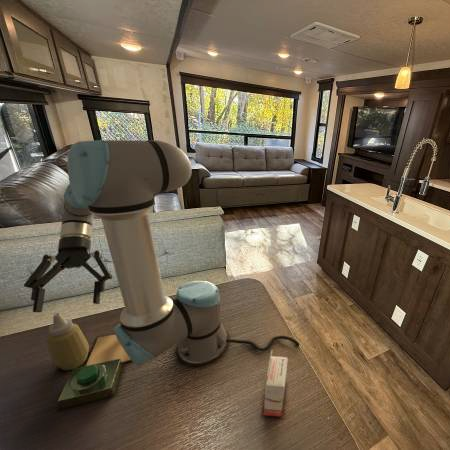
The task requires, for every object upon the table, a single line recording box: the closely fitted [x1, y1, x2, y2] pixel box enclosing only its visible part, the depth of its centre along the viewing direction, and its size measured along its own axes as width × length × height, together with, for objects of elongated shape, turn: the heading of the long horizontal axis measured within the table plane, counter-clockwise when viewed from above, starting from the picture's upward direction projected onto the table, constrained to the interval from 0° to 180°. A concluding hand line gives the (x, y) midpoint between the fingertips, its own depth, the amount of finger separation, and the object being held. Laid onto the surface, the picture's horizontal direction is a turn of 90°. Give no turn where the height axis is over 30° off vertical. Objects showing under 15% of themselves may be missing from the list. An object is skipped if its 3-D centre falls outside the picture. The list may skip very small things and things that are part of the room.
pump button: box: [77, 365, 98, 385], centre depth 64 cm, size 4×4×2 cm
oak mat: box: [85, 333, 133, 366], centre depth 78 cm, size 12×12×1 cm
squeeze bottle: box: [46, 312, 90, 371], centre depth 69 cm, size 8×8×18 cm
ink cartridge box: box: [263, 350, 289, 418], centre depth 65 cm, size 9×5×15 cm, turn 178°
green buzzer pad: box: [57, 359, 123, 409], centre depth 66 cm, size 11×9×5 cm
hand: (67, 307), depth 72 cm, fingers open, 13 cm apart
